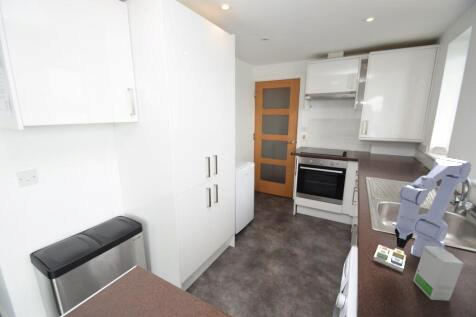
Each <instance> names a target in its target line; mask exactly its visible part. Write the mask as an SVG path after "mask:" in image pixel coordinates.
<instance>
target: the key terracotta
mask: <svg viewBox="0 0 476 317" xmlns="http://www.w3.org/2000/svg"><path fill="white" fill-rule="evenodd" d="M380 245H381V244H380ZM380 249H383V250H385V251H388V253H389V249H391V248H389V247H387V246H384V245H383V244H382V245H381V247H380Z"/></svg>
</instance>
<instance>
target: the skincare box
mask: <svg viewBox="0 0 476 317" xmlns="http://www.w3.org/2000/svg"><path fill="white" fill-rule="evenodd" d="M464 264H465V263H464V262H463V261H461V260H460V259H459V258H457V257H455V255H454V254H453V253H452V252H449V251H447V250H446V249H445V247H444V248H442V247H434V246H424V249H423V252H422V255H421V258H420V259H419V263H418V265H417V267H416V272H415V275H414V278H413V281H412V282H414V283H415V284H416V286H417V287H418V288H419V289H420V290H421V291H422V292H423V293H424V295H426V297H428V298H429V299H430V300H431V301H447V302H449V301H450V299H451V298H452V295H453V292H454V289H455V288H456V284H457V282H458V279H459V277H460V274H461V272H462V270H463V269H462V268H463V266H464Z"/></svg>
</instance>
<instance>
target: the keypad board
mask: <svg viewBox="0 0 476 317" xmlns="http://www.w3.org/2000/svg"><path fill="white" fill-rule="evenodd" d="M380 247H381V244H378V246H377V248H376V251H375V253H374V255H373V260H372V261H373V262H376V263H379V265H380V264H381V265H382V266H385V267H388V268H390V269H391V270H395V271H397V272H399V273H402V274H403V272H404V270H405V262H406V258H407V254H405V253H404V255H403V259H402V264H401V266H400V265H397V264H395V263H393V262H392V258H393V254H394V250H395V249H392V248H390V249H389V253H388V255H387V259H386V260H385V259H383V258H380V257H378V256H377V255H378V251H379V248H380Z"/></svg>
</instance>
